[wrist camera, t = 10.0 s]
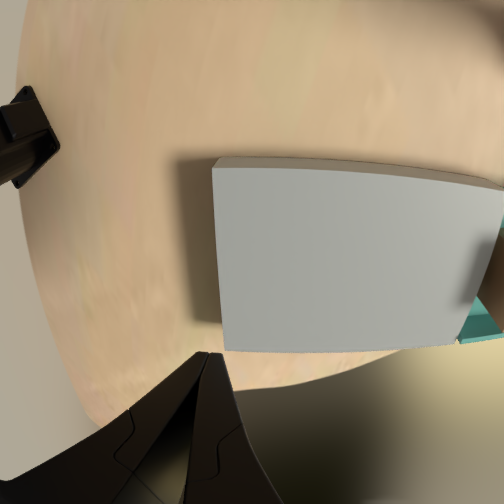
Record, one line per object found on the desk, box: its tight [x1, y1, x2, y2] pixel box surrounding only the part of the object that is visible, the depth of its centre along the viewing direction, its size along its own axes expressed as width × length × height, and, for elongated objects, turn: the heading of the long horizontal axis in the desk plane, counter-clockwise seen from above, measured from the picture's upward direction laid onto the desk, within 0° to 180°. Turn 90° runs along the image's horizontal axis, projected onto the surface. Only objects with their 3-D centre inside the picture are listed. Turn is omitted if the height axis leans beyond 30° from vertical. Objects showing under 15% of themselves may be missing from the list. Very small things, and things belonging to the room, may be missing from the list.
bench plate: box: [212, 157, 504, 353], centre depth 21 cm, size 20×14×3 cm
